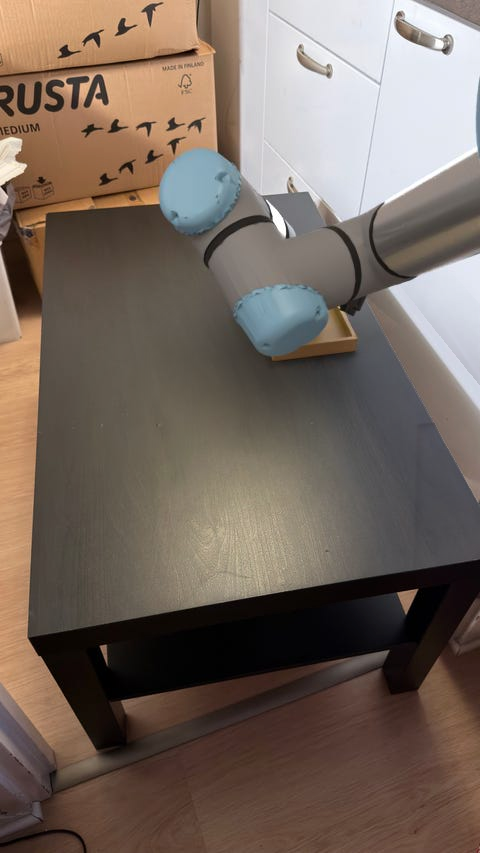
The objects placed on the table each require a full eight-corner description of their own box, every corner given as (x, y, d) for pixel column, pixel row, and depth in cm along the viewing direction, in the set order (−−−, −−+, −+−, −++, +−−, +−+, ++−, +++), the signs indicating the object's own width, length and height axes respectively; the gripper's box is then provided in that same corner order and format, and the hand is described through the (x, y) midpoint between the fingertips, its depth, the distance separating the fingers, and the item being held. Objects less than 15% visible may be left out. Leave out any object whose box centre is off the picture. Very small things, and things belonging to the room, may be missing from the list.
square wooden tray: (355, 350, 89) (357, 338, 87) (272, 361, 87) (273, 349, 86) (330, 300, 97) (332, 287, 95) (254, 308, 95) (254, 296, 94)
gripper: (156, 235, 74) (231, 282, 93) (338, 313, 64) (380, 347, 84) (182, 175, 73) (252, 235, 92) (371, 245, 63) (405, 296, 83)
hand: (313, 289), depth 88 cm, fingers open, 13 cm apart
